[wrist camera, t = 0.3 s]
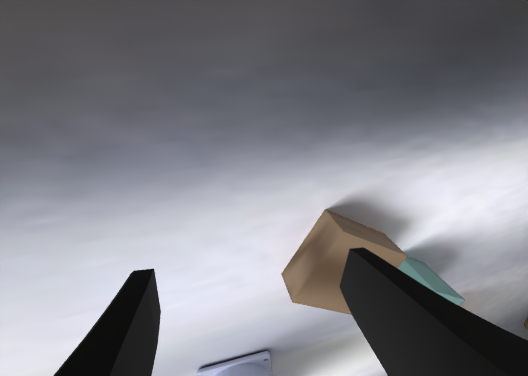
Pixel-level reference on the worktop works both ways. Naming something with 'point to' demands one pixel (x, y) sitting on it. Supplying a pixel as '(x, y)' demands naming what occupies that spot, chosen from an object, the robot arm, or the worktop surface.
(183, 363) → the worktop surface
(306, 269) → the walnut block
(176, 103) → the worktop surface
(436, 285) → the teal cube
